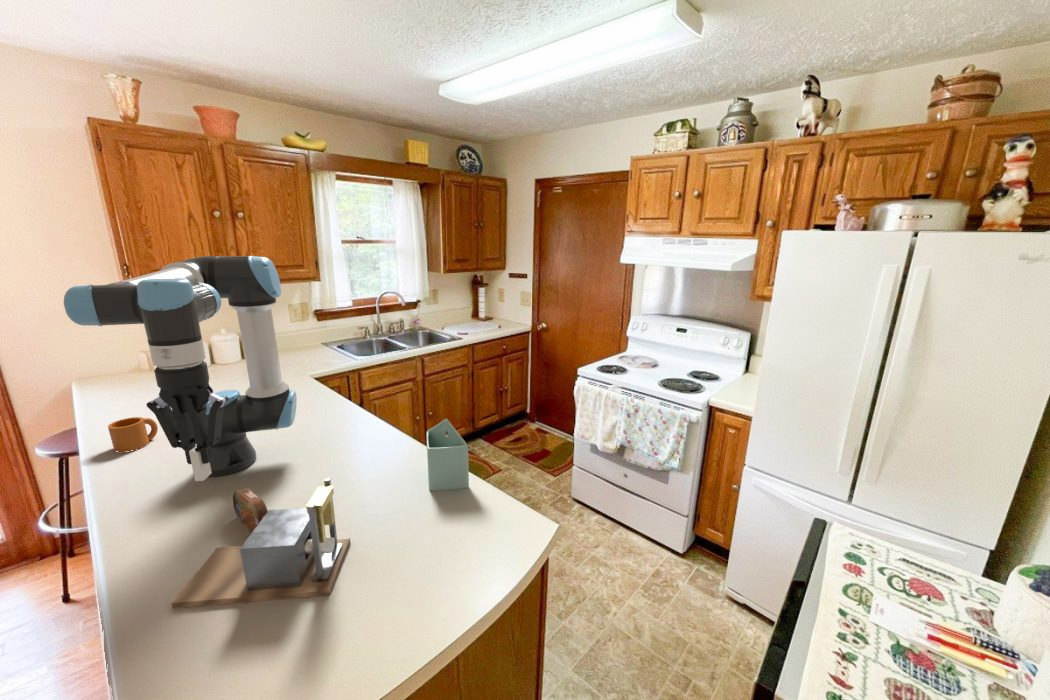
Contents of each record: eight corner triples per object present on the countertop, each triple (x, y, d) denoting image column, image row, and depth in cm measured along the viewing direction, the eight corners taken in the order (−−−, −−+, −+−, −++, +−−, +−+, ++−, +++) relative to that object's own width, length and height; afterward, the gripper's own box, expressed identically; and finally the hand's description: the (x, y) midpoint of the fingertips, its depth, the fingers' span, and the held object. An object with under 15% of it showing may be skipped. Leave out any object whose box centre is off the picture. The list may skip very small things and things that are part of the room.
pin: (246, 573, 85) (242, 548, 83) (261, 552, 91) (257, 528, 89) (329, 567, 87) (326, 543, 85) (338, 546, 93) (335, 524, 91)
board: (172, 608, 80) (171, 602, 79) (217, 552, 94) (217, 547, 94) (329, 595, 83) (328, 590, 83) (350, 543, 98) (349, 538, 97)
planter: (410, 481, 123) (406, 420, 118) (429, 470, 130) (427, 412, 125) (450, 500, 115) (448, 435, 110) (469, 487, 121) (468, 425, 116)
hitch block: (247, 590, 82) (233, 514, 78) (274, 548, 94) (264, 479, 89) (326, 584, 84) (316, 509, 80) (343, 543, 96) (336, 475, 91)
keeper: (311, 543, 84) (306, 506, 82) (322, 521, 91) (318, 486, 89) (326, 542, 85) (322, 505, 83) (336, 520, 91) (333, 485, 89)
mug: (164, 442, 143) (159, 418, 141) (117, 456, 134) (110, 431, 132) (157, 434, 149) (152, 411, 146) (111, 447, 139) (105, 423, 137)
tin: (234, 515, 107) (229, 486, 105) (247, 509, 109) (242, 481, 107) (259, 540, 98) (254, 509, 96) (273, 533, 101) (268, 503, 98)
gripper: (124, 370, 71) (153, 489, 77) (206, 369, 73) (228, 486, 79) (156, 358, 78) (180, 468, 85) (230, 357, 80) (248, 465, 86)
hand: (203, 477), depth 82 cm, fingers closed
